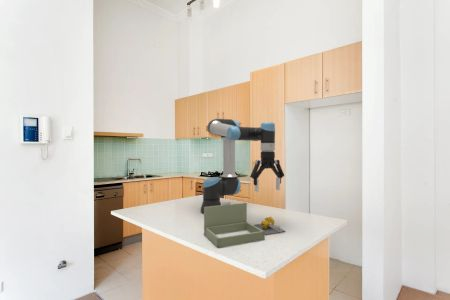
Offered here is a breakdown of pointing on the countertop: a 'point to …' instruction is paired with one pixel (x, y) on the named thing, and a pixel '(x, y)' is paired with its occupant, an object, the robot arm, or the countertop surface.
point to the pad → (268, 229)
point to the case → (229, 225)
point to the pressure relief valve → (270, 224)
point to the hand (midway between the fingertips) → (267, 190)
